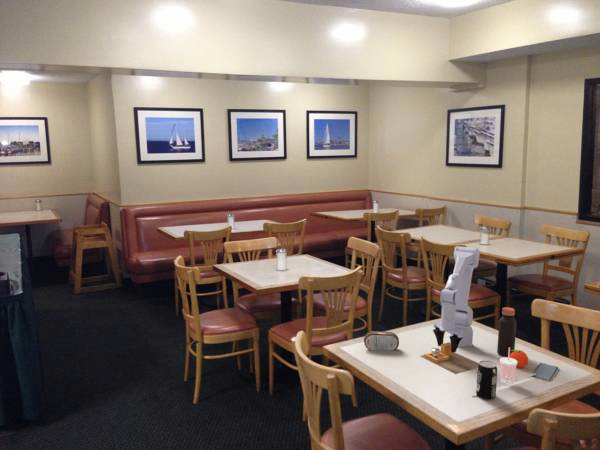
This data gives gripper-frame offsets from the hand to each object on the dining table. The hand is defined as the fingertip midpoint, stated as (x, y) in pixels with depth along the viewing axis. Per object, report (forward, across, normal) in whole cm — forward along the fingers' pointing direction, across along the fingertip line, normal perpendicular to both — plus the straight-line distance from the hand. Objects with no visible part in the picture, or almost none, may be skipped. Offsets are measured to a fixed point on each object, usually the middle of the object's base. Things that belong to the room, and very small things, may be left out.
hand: (446, 348), depth 219 cm
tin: (+4, -19, -20) cm, 28 cm away
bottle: (+4, +10, +24) cm, 27 cm away
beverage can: (+4, +32, -14) cm, 35 cm away
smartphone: (+4, +30, +22) cm, 38 cm away
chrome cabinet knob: (+3, 0, -6) cm, 7 cm away
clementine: (+4, +21, +18) cm, 28 cm away
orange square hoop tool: (+3, 0, -3) cm, 4 cm away
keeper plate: (+4, +5, -2) cm, 7 cm away
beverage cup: (+4, +29, +2) cm, 29 cm away
